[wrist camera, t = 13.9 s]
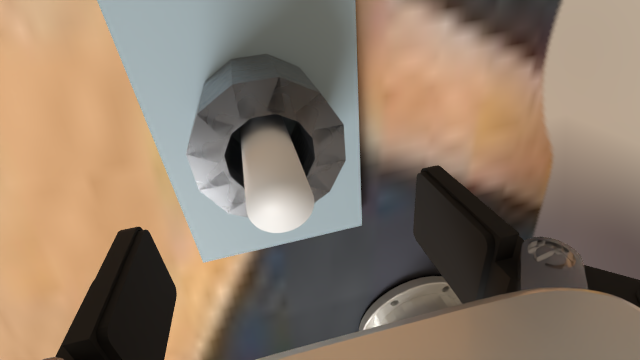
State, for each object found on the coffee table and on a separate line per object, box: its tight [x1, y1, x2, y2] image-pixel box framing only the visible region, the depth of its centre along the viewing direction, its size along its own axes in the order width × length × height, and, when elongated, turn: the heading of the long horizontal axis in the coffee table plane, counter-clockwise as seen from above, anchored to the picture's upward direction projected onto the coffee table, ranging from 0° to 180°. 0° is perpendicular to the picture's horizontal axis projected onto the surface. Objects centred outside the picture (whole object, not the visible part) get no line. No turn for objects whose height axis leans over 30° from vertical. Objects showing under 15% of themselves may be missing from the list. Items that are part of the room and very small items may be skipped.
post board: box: [97, 0, 362, 263], centre depth 16 cm, size 12×20×10 cm, turn 5°
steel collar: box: [186, 54, 346, 217], centre depth 17 cm, size 7×7×5 cm
